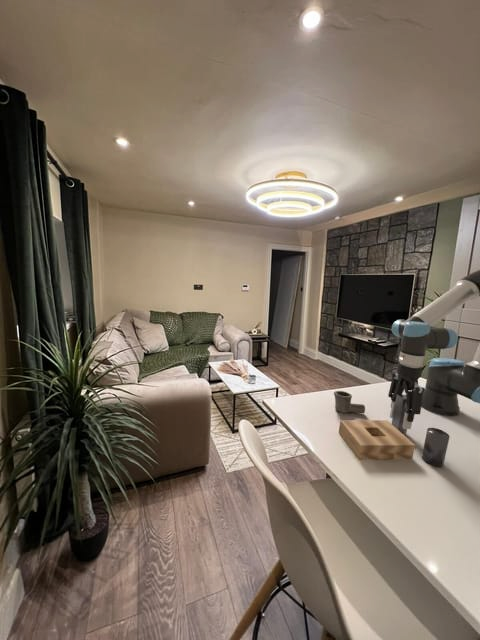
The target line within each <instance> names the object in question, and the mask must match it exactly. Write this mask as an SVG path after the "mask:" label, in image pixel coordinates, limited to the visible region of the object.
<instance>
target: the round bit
mask: <svg viewBox="0 0 480 640" xmlns="http://www.w3.org/2000/svg"><path fill="white" fill-rule="evenodd" d="M450 438H451V436H450V435H449V433H447V432H446V431H444V430H442V429H440V428H436V427H428V428H427V429H426V434H425V439H424V444H423V449H422V454H421V459H422V461H423V462H425V464H427V465H429V466H431V467H434V468H438V469H439V468H441V469H442V468H443V467H444V466H445V465H444V463H445V461H446V460H445V459H446V455H447V450H448V445H449V441H450Z"/></svg>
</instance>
